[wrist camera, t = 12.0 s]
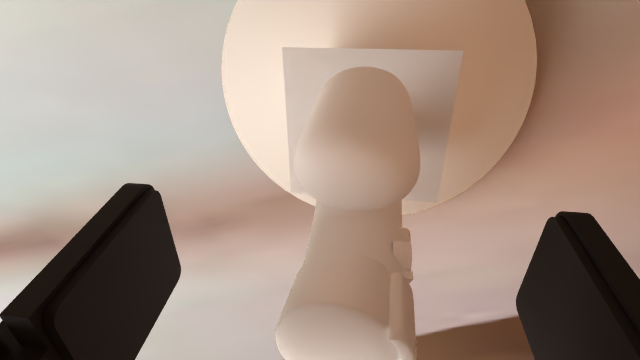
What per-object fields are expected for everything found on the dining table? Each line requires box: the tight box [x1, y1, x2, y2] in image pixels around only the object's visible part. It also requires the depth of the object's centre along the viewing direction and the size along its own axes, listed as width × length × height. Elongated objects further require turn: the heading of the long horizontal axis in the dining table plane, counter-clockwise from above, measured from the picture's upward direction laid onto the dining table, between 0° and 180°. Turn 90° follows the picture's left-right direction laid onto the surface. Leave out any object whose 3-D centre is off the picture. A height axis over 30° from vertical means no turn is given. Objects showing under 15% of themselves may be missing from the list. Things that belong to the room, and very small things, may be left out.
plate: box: [222, 0, 537, 215], centre depth 21 cm, size 16×16×2 cm
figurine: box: [275, 47, 463, 360], centre depth 14 cm, size 7×9×15 cm
